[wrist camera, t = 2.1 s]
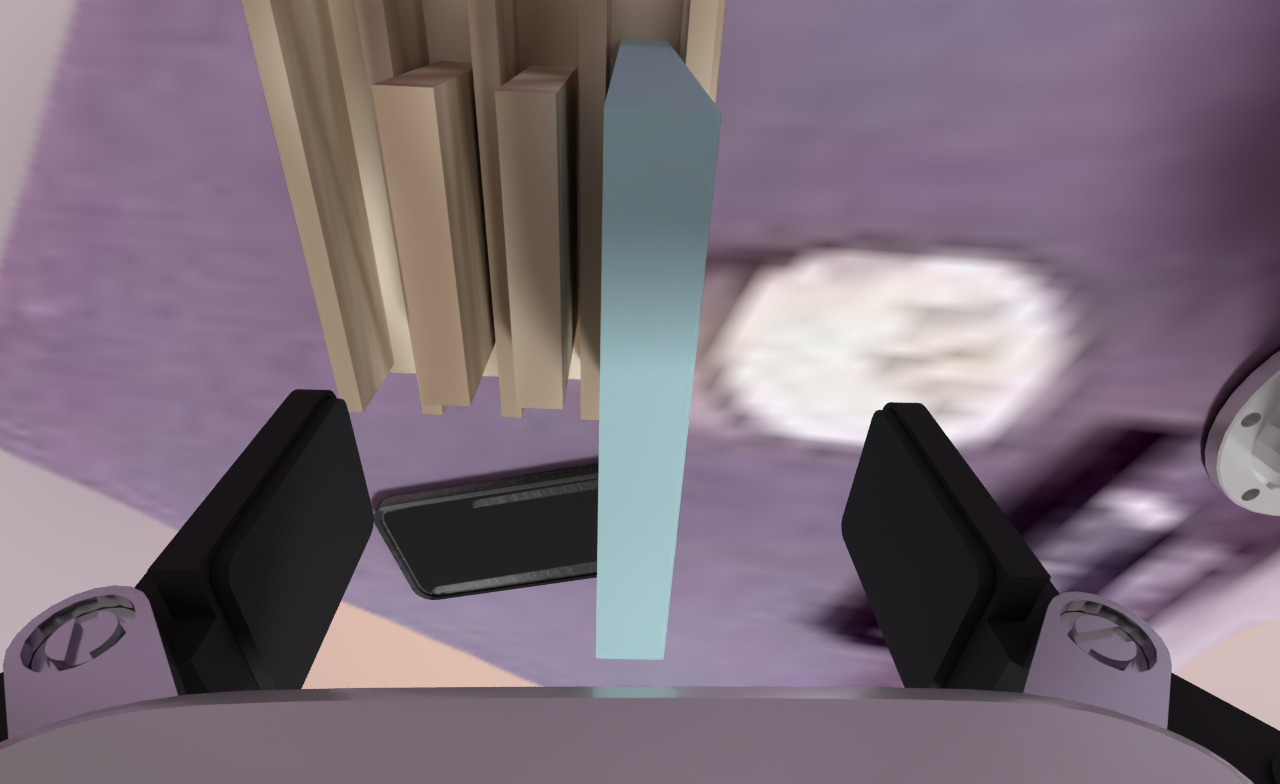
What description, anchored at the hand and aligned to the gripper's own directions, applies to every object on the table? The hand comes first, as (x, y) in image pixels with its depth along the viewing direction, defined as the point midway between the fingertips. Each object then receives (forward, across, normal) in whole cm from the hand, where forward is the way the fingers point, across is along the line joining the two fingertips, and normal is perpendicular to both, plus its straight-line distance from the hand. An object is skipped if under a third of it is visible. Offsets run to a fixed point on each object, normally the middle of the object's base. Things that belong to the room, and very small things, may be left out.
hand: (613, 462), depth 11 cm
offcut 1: (+16, +6, 0) cm, 17 cm away
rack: (+18, +4, 0) cm, 18 cm away
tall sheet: (+16, -1, 0) cm, 16 cm away
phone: (+18, +5, +19) cm, 27 cm away
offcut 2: (+16, +2, 0) cm, 16 cm away
